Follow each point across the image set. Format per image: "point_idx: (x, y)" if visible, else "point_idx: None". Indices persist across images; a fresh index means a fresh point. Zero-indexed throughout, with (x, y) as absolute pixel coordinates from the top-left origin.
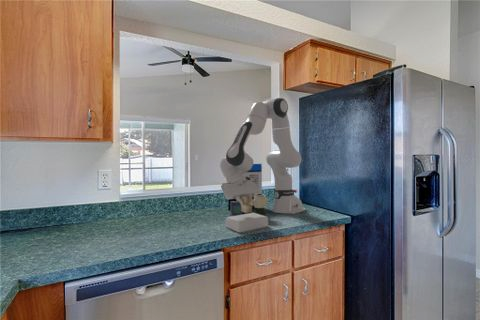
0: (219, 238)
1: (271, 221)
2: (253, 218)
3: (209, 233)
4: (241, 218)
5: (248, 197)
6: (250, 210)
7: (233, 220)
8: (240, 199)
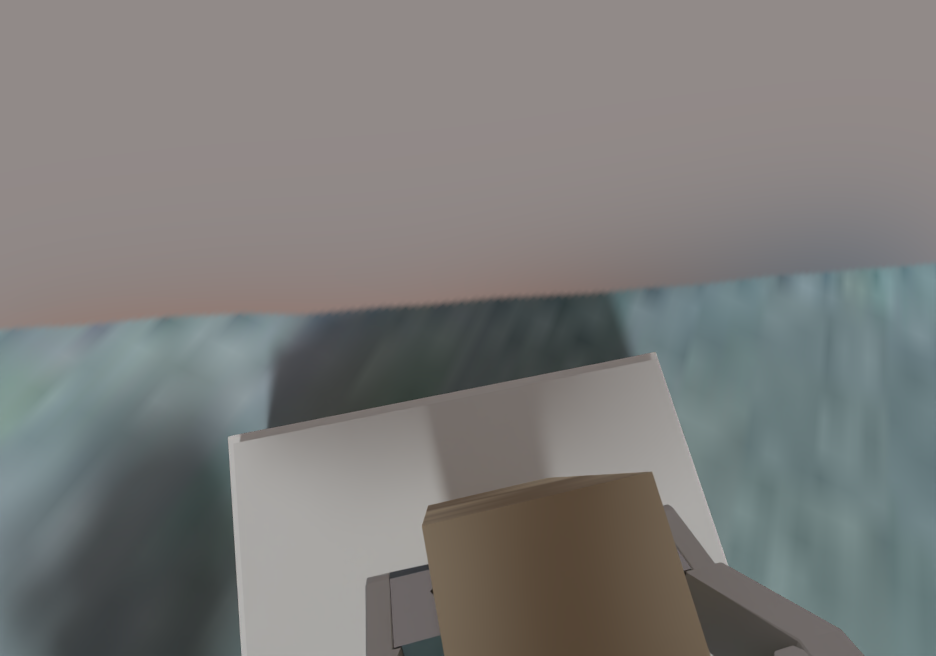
0: (801, 301)
1: (79, 641)
2: (444, 427)
3: (875, 464)
4: None
5: (549, 493)
6: (460, 499)
7: (691, 478)
8: (734, 577)
